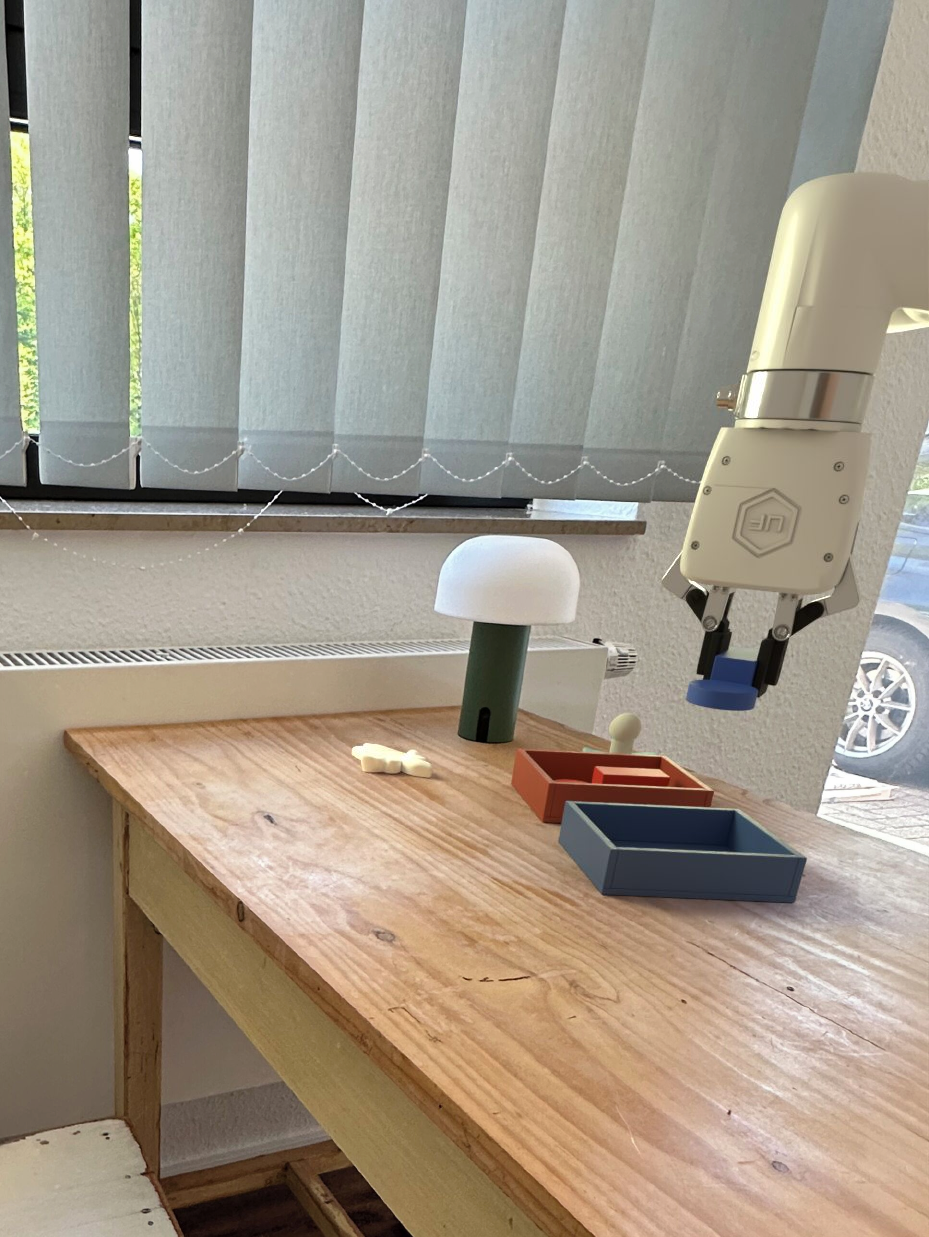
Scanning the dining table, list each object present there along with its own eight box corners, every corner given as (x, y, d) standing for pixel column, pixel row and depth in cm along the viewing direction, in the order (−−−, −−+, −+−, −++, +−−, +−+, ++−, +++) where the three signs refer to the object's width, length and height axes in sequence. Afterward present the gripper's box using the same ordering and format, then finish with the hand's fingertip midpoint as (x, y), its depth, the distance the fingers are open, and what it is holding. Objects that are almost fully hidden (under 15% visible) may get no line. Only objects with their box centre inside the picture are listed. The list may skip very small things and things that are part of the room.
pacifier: (571, 761, 111) (583, 776, 106) (582, 701, 109) (595, 713, 103) (643, 767, 111) (659, 781, 105) (655, 706, 108) (672, 718, 103)
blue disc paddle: (711, 681, 81) (720, 644, 79) (774, 691, 78) (784, 652, 77) (678, 703, 73) (687, 661, 72) (747, 714, 71) (758, 671, 69)
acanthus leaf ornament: (431, 779, 102) (434, 760, 102) (360, 776, 102) (362, 757, 101) (418, 757, 109) (420, 739, 108) (351, 754, 109) (352, 736, 108)
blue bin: (728, 849, 88) (739, 808, 86) (794, 903, 78) (807, 858, 76) (557, 841, 87) (565, 800, 86) (601, 894, 77) (610, 849, 76)
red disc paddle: (649, 795, 99) (656, 766, 98) (667, 810, 95) (674, 780, 94) (540, 790, 99) (545, 761, 98) (554, 805, 95) (559, 774, 94)
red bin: (657, 790, 102) (665, 755, 101) (705, 829, 92) (714, 790, 91) (510, 784, 102) (516, 748, 100) (542, 822, 92) (549, 783, 90)
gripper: (659, 400, 70) (605, 680, 78) (941, 407, 62) (852, 719, 70) (686, 406, 76) (634, 667, 84) (948, 413, 68) (865, 701, 76)
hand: (734, 688), depth 77 cm, fingers closed on blue disc paddle, 2 cm apart
